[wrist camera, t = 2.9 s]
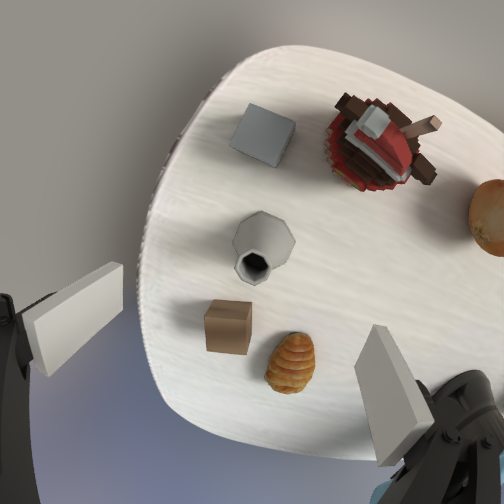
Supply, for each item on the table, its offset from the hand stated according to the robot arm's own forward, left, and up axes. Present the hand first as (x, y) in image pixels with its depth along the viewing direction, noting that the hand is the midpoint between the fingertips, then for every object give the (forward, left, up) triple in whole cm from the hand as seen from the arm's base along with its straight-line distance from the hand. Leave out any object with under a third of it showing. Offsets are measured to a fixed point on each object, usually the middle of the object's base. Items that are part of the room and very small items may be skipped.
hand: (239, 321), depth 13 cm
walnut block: (-12, +3, -21) cm, 24 cm away
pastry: (-17, -7, -21) cm, 28 cm away
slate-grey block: (+11, +3, -21) cm, 24 cm away
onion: (+10, -28, -21) cm, 37 cm away
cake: (+12, -9, -21) cm, 26 cm away
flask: (-1, +1, -21) cm, 21 cm away
